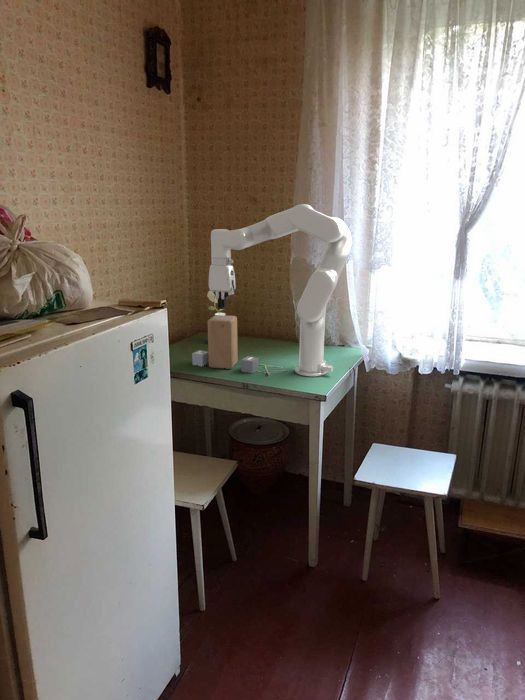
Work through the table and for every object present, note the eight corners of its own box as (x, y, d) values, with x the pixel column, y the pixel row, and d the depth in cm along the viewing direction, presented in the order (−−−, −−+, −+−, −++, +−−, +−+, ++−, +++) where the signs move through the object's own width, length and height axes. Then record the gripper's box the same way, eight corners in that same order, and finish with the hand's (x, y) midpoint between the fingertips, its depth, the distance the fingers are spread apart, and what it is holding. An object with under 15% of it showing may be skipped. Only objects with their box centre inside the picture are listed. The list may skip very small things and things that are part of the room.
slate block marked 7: (209, 363, 217) (209, 351, 215) (202, 366, 213) (202, 354, 211) (199, 361, 219) (198, 349, 217) (192, 365, 215) (192, 352, 213)
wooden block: (232, 369, 209) (231, 321, 203) (208, 368, 211) (206, 319, 205) (238, 362, 218) (237, 315, 212) (215, 360, 220) (214, 314, 214)
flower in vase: (237, 341, 249) (236, 289, 242) (223, 347, 240) (222, 293, 233) (215, 337, 256) (214, 286, 249) (201, 342, 246) (199, 290, 239)
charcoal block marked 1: (258, 370, 209) (258, 357, 207) (252, 373, 205) (252, 361, 203) (247, 368, 211) (247, 355, 210) (241, 371, 207) (241, 359, 205)
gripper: (242, 262, 202) (243, 308, 207) (210, 259, 209) (211, 304, 214) (232, 264, 196) (233, 312, 201) (199, 261, 202) (200, 308, 208)
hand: (221, 308), depth 208 cm, fingers closed
